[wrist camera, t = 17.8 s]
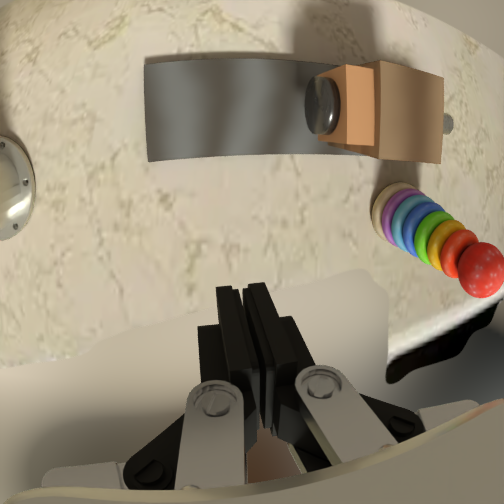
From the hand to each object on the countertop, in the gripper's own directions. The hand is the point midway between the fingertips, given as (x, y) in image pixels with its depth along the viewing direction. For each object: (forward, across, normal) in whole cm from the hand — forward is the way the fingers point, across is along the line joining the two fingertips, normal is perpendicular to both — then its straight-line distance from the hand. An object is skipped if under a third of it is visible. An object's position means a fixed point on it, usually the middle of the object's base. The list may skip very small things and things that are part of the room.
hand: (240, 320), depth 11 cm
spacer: (+19, -11, -8) cm, 23 cm away
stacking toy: (+23, -23, +4) cm, 33 cm away
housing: (+23, -7, -8) cm, 25 cm away
